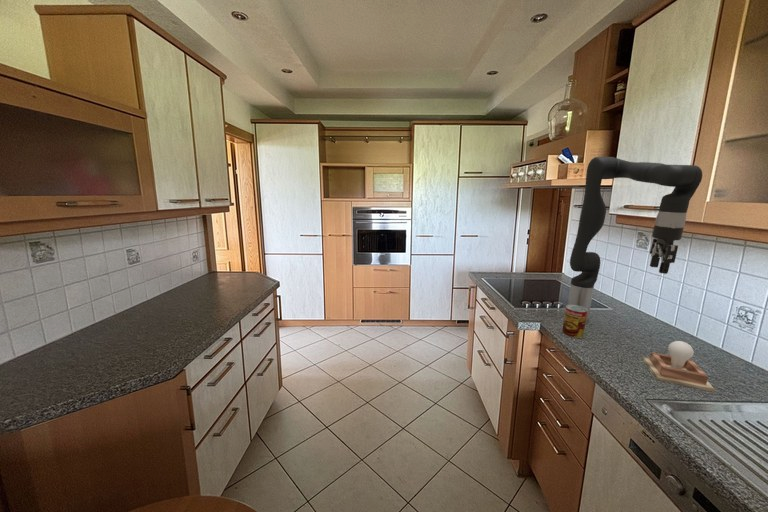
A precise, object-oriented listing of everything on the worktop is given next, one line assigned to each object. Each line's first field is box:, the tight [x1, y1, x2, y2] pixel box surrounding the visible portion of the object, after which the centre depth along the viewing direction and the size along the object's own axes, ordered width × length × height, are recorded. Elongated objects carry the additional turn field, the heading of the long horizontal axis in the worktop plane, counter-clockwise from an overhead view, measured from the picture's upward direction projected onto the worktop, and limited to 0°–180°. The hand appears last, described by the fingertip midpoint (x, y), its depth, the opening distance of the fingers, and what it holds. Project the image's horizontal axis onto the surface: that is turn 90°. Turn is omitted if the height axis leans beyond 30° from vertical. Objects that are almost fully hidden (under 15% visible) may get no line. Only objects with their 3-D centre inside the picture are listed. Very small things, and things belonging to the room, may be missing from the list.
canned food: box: [561, 304, 588, 339], centre depth 130 cm, size 8×8×12 cm
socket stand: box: [642, 351, 716, 393], centre depth 102 cm, size 14×14×4 cm
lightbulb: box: [667, 340, 695, 369], centre depth 101 cm, size 6×6×11 cm
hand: (658, 270), depth 107 cm, fingers open, 8 cm apart
